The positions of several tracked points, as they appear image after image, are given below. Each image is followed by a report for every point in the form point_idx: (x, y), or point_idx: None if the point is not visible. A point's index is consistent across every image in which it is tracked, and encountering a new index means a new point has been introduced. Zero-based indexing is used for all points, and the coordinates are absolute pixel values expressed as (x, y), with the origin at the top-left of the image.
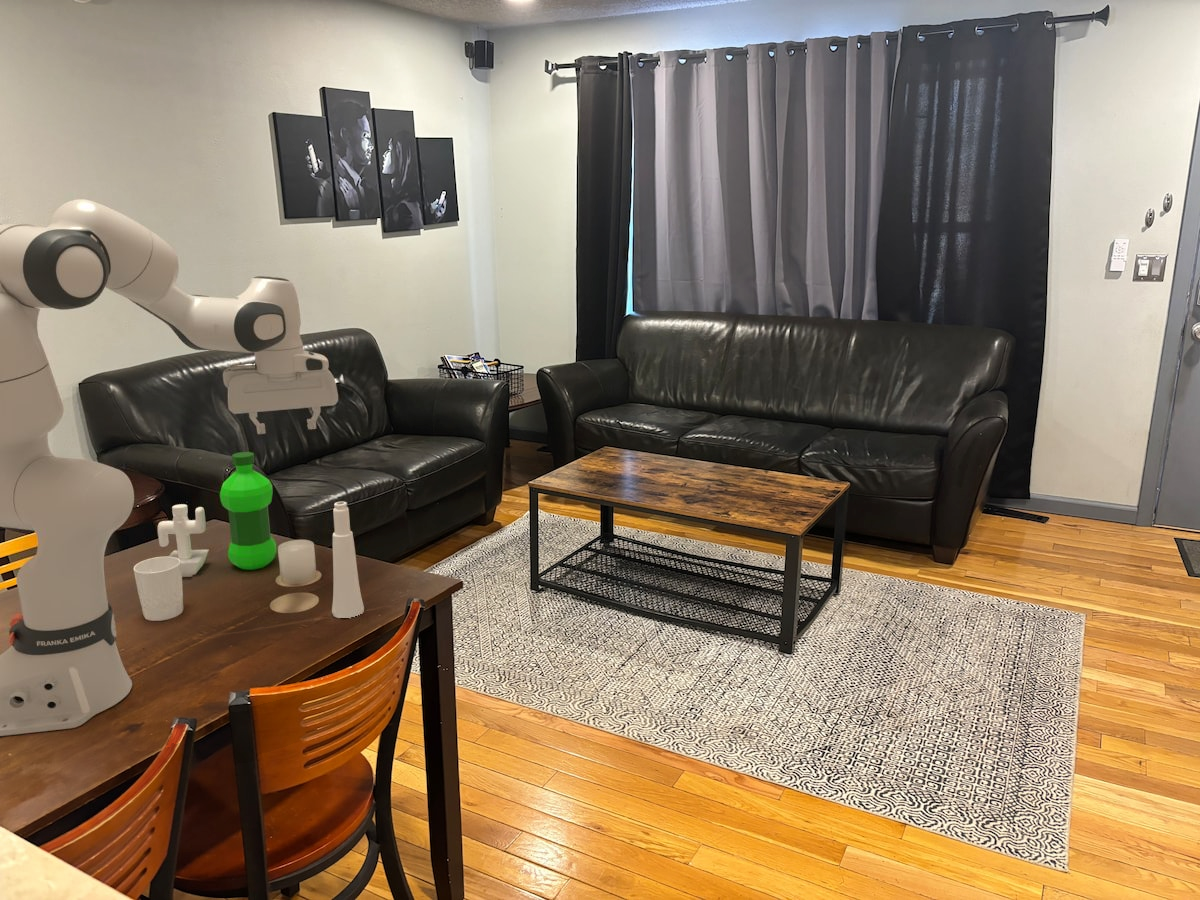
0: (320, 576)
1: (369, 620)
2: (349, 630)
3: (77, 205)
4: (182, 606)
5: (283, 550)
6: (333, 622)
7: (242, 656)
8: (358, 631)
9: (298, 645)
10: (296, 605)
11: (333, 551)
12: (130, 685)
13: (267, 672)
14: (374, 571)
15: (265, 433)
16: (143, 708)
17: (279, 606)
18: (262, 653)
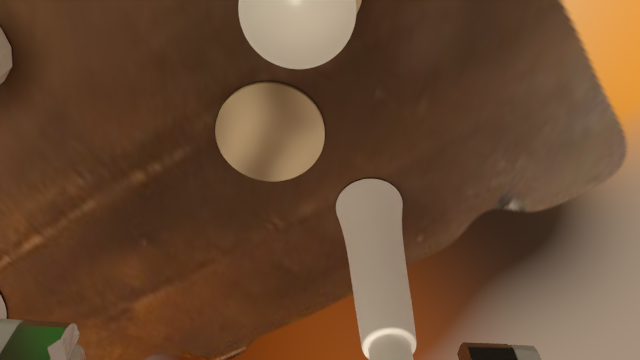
0: (357, 7)
1: None
2: None
3: None
4: (7, 58)
5: (254, 37)
6: (331, 232)
7: (165, 280)
8: None
9: (258, 281)
10: (272, 152)
11: (356, 314)
12: (2, 310)
13: (205, 331)
14: (504, 16)
15: (84, 356)
16: None
17: (235, 141)
18: (198, 283)
